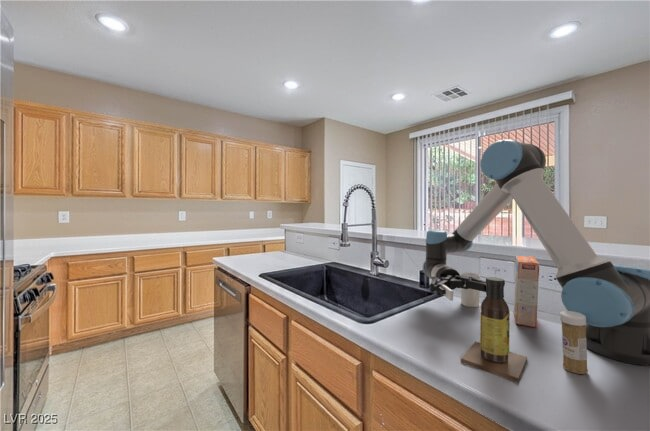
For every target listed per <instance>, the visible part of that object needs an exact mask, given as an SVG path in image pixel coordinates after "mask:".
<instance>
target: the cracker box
mask: <svg viewBox="0 0 650 431" xmlns="http://www.w3.org/2000/svg"><path fill="white" fill-rule="evenodd" d="M514 275H515V276H514V278H515V279H514V296H513V297H514V298H513V299H514V302H513V313H514V320H515V324H516V325H521V326H524V327H525V326H526V327H529V328H537V326H538V325H537V323H538V322H537V321H538V320H537V319H538V301H539V299H538V298H539V297H538V296H539V277H540V276H539V275H540V263H539V262H538V260H537V259H536V258H535V257H534V256H529V255H516V256H515V274H514Z"/></svg>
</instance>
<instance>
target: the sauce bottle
mask: <svg viewBox="0 0 650 431" xmlns="http://www.w3.org/2000/svg"><path fill="white" fill-rule="evenodd" d="M485 281H486V284H487V292H485V293H486V296H485V298H484V299H483V300H482V301H481V304H480V322H479V323H480V326H479V328H480V330H479V331H480V333H479V336H480V341H479V343H480V347H481V355H482V357H483V358H485V359H487V360H489V361H493V362H506V361H508V354H509V352H510V326H511V323H510V321H511V320H510V319H511V318H510V315H511V313H510V307H509V305H508V303H507V302H506V300H505V294H504V293H505V292H504V291H505V289H504V288H505V285H506V282H505V279H503V278H500V277H496V276H487V277H486V278H485Z"/></svg>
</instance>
